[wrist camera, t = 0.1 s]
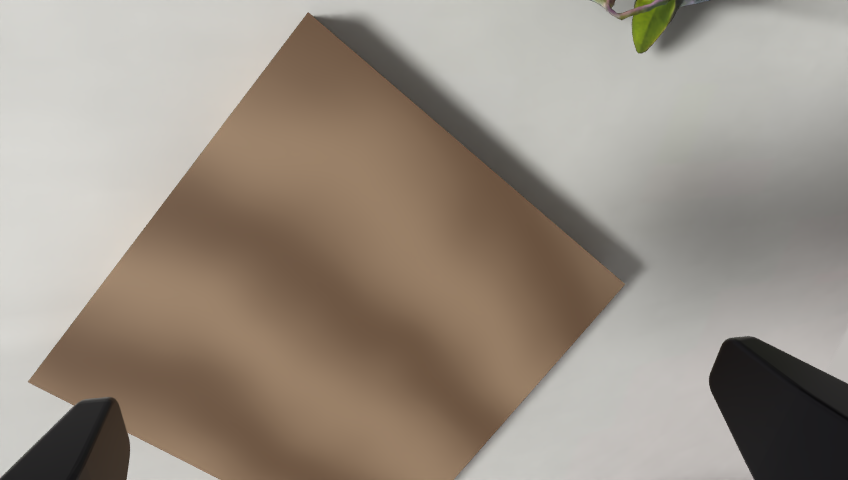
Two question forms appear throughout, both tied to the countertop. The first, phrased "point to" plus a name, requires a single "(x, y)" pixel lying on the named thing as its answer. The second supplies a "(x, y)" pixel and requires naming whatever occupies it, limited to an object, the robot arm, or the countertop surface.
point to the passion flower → (648, 18)
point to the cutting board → (330, 290)
